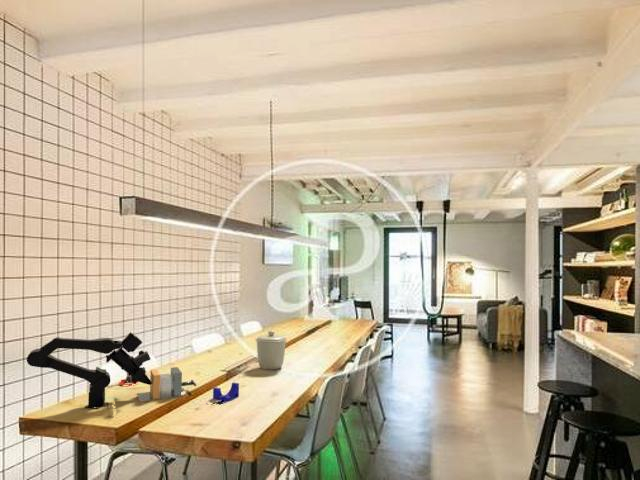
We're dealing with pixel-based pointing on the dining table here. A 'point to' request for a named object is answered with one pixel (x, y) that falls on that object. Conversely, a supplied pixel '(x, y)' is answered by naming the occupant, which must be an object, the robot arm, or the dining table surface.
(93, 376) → the robot arm
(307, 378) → the dining table surface
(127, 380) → the red handwheel with stem
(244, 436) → the dining table surface
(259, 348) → the canister
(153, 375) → the block
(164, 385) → the steel block
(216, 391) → the blue arch block
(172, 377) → the vise
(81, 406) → the dining table surface
